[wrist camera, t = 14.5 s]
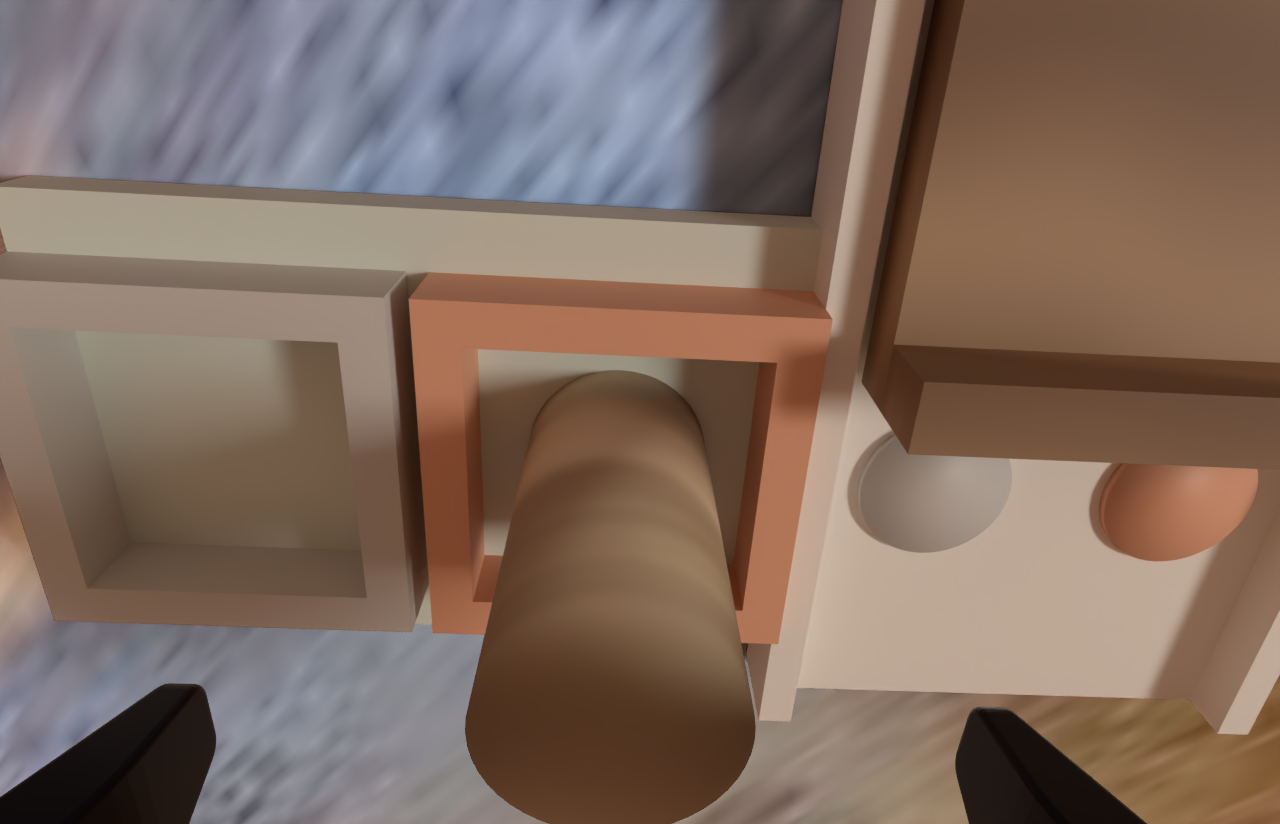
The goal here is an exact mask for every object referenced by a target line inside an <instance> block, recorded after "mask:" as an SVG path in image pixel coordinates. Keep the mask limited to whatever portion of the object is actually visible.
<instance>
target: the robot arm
mask: <svg viewBox="0 0 1280 824" xmlns="http://www.w3.org/2000/svg"><path fill="white" fill-rule="evenodd" d="M215 748H216V733H215V728H214V724H213V720H212V716H211V712H210V708H209V703H208V699H207V695H206V692H205V690H204V689H203V688H202V687H201V686H200V685H197V684H164V685H162V686H160V687H158V688H156V689H155V690H153V691H152V692H150V693H149V694H148V695H146V696H145V697H143V698H142V699H140V700H139V701H137V702H136V703H135V704H133V705H132V706H130V707H129V708H127V709H126V710H125V711H123V712H122V713H120V714H119V715H117V716H116V717H114V718H113V719H112V720H110V721H109V722H107V723H106V724H104V725H103V726H102V727H100V728H99V729H97V730H96V731H94V732H93V733H91V734H90V735H89V736H87V737H86V738H84V739H83V740H81V741H80V742H79V743H77V744H76V745H74V746H73V747H71V748H70V749H69V750H67V751H66V752H64V753H63V754H61V755H60V756H58V757H57V758H56V759H54V760H53V761H51V762H50V763H48V764H47V765H46V766H44V767H43V768H41V769H40V770H38V771H37V772H35V773H34V774H33V775H31V776H30V777H28V778H27V779H25V780H24V781H23V782H21V783H20V784H18V785H17V786H15V787H14V788H12V789H11V790H10V791H8V792H7V793H5V794H4V795H2V796H1V797H0V824H189V823H190V820H191V817H192V814H193V812H194V809H195V806H196V803H197V801H198V798H199V795H200V792H201V790H202V787H203V784H204V781H205V779H206V776H207V773H208V770H209V768H210V765H211V762H212V759H213V756H214V753H215ZM955 767H956V775H957V779H958V783H959V787H960V791H961V794H962V798H963V802H964V806H965V810H966V814H967V817H968V821H969V824H1147V823H1146V822H1145V821H1143V820H1142V819H1141V818H1140V817H1139V816H1137V815H1136V814H1135V813H1134V812H1133V811H1131V810H1130V809H1129V808H1128V807H1127V806H1125V805H1124V804H1123V803H1122V802H1121V801H1119V800H1118V799H1117V798H1116V797H1115V796H1113V795H1112V794H1111V793H1110V792H1109V791H1107V790H1106V789H1105V788H1104V787H1103V786H1101V785H1100V784H1099V783H1098V782H1097V781H1096V780H1094V779H1093V778H1092V777H1091V776H1090V775H1088V774H1087V773H1086V772H1085V771H1084V770H1082V769H1081V768H1080V767H1079V766H1078V765H1076V764H1075V763H1074V762H1073V761H1072V760H1070V759H1069V758H1068V757H1067V756H1066V755H1064V754H1063V753H1062V752H1061V751H1060V750H1058V749H1057V748H1056V747H1055V746H1054V745H1052V744H1051V743H1050V742H1049V741H1048V740H1046V739H1045V738H1044V737H1043V736H1042V735H1041V734H1039V733H1038V732H1037V731H1036V730H1035V729H1033V728H1032V727H1031V726H1030V725H1029V724H1027V723H1026V722H1025V721H1024V720H1023V719H1021V718H1020V717H1019V716H1018V715H1017V714H1015V713H1014V712H1013V711H1011V710H1009V709H1007V708H1000V707H976V708H974V709H973V710H972V711H971V712H970V714H969V716H968V719H967V722H966V725H965V728H964V731H963V734H962V737H961V741H960V744H959V747H958V750H957V754H956V760H955Z"/></svg>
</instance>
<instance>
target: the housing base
mask: <svg viewBox="0 0 1280 824" xmlns="http://www.w3.org/2000/svg"><path fill="white" fill-rule="evenodd" d="M933 6H934V0H843V4H842V11H841V18H840V24H839V31H838V38H837V45H836V51H835V58H834V65H833V72H832V79H831V85H830V92H829V99H828V106H827V112H826V119H825V126H824V133H823V140H822V146H821V153H820V160H819V167H818V174H817V180H816V187H815V194H814V201H813V207H812V214H811V217H812V219H813V220H814V221H815V222H816V223H817V224H818V225H819V226H820V227H821V228H822V229H823V233H822V240H821V246H820V252H819V259H818V265H817V272H816V278H815V285H814V293H815V294H816V296H817V297H818V299H819V300H820V301H821V303H822V304H823V306H824V307H825V309H826V310H827V312H828V313H829V315H830V316H831V318H832V319H833V321H832V327H831V333H830V339H829V345H828V351H827V357H826V363H825V369H824V375H823V381H822V386H821V392H820V398H819V404H818V410H817V416H816V422H815V428H814V434H813V440H812V446H811V452H810V458H809V464H808V470H807V476H806V482H805V487H804V493H803V499H802V505H801V511H800V517H799V523H798V529H797V535H796V541H795V547H794V553H793V559H792V565H791V571H790V577H789V583H788V588H787V594H786V600H785V606H784V612H783V618H782V624H781V630H780V636H779V642H778V644H758V643H748V648H747V655H746V656H747V661H748V666H749V672H750V677H751V682H752V687H753V693H754V698H755V703H756V709H757V714H758V719H759V720H763V721H791V716H792V711H793V706H794V700H795V695H796V689H797V688H823V689H856V690H889V691H922V692H955V693H988V694H1020V695H1053V696H1086V697H1119V698H1152V699H1185V700H1190V701H1191V702H1192V703H1193V705H1194V706H1195V707H1196V708H1197V710H1198V711H1199V712H1200V713H1201V714H1202V716H1203V717H1204V718H1205V719H1206V720H1207V722H1208V723H1209V724H1210V725H1211V726H1212V728H1213V729H1214V730H1215V731H1216V733H1217V734H1248V733H1249V731H1250V729H1251V727H1252V726H1253V724H1254V722H1255V720H1256V718H1257V716H1258V714H1259V712H1260V710H1261V709H1262V707H1263V705H1264V703H1265V701H1266V699H1267V697H1268V695H1269V693H1270V692H1271V690H1272V688H1273V686H1274V684H1275V682H1276V680H1277V678H1278V676H1279V675H1280V470H1270V469H1246V468H1222V467H1198V466H1174V465H1151V464H1127V463H1103V462H1079V461H1055V460H1031V459H1007V458H983V457H959V456H935V455H911V454H907V452H906V451H905V449H904V447H903V446H902V444H901V443H900V441H899V440H898V438H897V437H896V435H895V434H894V432H893V430H892V429H891V427H890V426H889V424H888V423H887V421H886V420H885V418H884V417H883V415H882V413H881V412H880V410H879V409H878V407H877V406H876V404H875V403H874V401H873V399H872V398H871V396H870V395H869V393H868V392H867V390H866V389H865V387H864V386H863V384H862V376H863V371H864V366H865V361H866V356H867V350H868V345H869V340H870V335H871V329H872V324H873V319H874V314H875V308H876V303H877V298H878V293H879V288H880V282H881V277H882V272H883V267H884V261H885V256H886V251H887V246H888V241H889V235H890V230H891V225H892V220H893V214H894V209H895V204H896V199H897V194H898V188H899V183H900V178H901V173H902V167H903V162H904V157H905V152H906V147H907V141H908V136H909V131H910V126H911V120H912V115H913V110H914V105H915V100H916V94H917V89H918V84H919V79H920V73H921V68H922V63H923V58H924V53H925V47H926V42H927V37H928V32H929V26H930V21H931V16H932V11H933Z"/></svg>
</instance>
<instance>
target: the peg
mask: <svg viewBox="0 0 1280 824" xmlns="http://www.w3.org/2000/svg"><path fill="white" fill-rule="evenodd" d="M755 727H756V726H755V717H754V710H753V704H752V699H751V694H750V688H749V683H748V677H747V672H746V666H745V661H744V656H743V650H742V645H741V639H740V634H739V628H738V623H737V617H736V612H735V607H734V601H733V596H732V590H731V585H730V579H729V574H728V568H727V563H726V558H725V552H724V547H723V541H722V536H721V530H720V525H719V520H718V514H717V509H716V503H715V498H714V492H713V487H712V481H711V476H710V471H709V465H708V460H707V454H706V449H705V443H704V438H703V433H702V429H701V426H700V423H699V421H698V418H697V416H696V414H695V412H694V411H693V409H692V408H691V406H690V405H689V404H688V402H687V401H686V400H685V399H684V398H683V397H682V396H681V395H680V394H679V393H678V392H677V391H676V390H674V389H673V388H672V387H670V386H669V385H667V384H666V383H664V382H662V381H660V380H658V379H656V378H654V377H651V376H648V375H645V374H642V373H637V372H633V371H624V370H608V371H601V372H595V373H592V374H588V375H585V376H582V377H580V378H577V379H575V380H573V381H571V382H569V383H568V384H566V385H564V386H563V387H562V388H560V389H559V390H558V391H556V392H555V393H554V394H553V395H552V396H551V397H550V398H549V399H548V400H547V401H546V403H545V404H544V405H543V407H542V408H541V410H540V411H539V413H538V415H537V417H536V419H535V422H534V424H533V427H532V431H531V436H530V440H529V444H528V449H527V453H526V458H525V462H524V466H523V471H522V475H521V479H520V484H519V488H518V492H517V497H516V501H515V505H514V510H513V514H512V519H511V523H510V527H509V532H508V536H507V540H506V545H505V549H504V553H503V558H502V562H501V566H500V571H499V575H498V579H497V584H496V588H495V593H494V597H493V601H492V606H491V610H490V614H489V619H488V623H487V627H486V632H485V636H484V640H483V645H482V649H481V653H480V658H479V662H478V667H477V671H476V675H475V680H474V684H473V688H472V693H471V697H470V701H469V706H468V710H467V715H466V724H465V734H466V741H467V747H468V750H469V753H470V756H471V759H472V761H473V763H474V765H475V767H476V769H477V771H478V772H479V774H480V775H481V776H482V778H483V779H484V780H485V782H486V783H487V784H488V785H489V786H490V787H491V788H492V789H493V790H494V791H495V792H496V793H497V794H498V795H499V796H500V797H501V798H503V799H504V800H505V801H506V802H508V803H509V804H510V805H512V806H514V807H515V808H517V809H518V810H520V811H522V812H523V813H525V814H528V815H530V816H532V817H534V818H536V819H538V820H541V821H544V822H546V823H549V824H672V823H675V822H677V821H679V820H682V819H684V818H687V817H689V816H691V815H693V814H695V813H697V812H699V811H700V810H702V809H704V808H705V807H707V806H708V805H710V804H711V803H713V802H714V801H716V800H717V799H718V798H719V797H720V796H721V795H723V794H724V793H725V792H726V791H727V790H728V789H729V788H730V787H731V786H732V785H733V783H734V782H735V781H736V780H737V779H738V777H739V776H740V774H741V773H742V771H743V770H744V768H745V766H746V764H747V762H748V760H749V757H750V755H751V752H752V748H753V744H754V740H755Z"/></svg>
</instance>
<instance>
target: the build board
mask: <svg viewBox="0 0 1280 824" xmlns="http://www.w3.org/2000/svg"><path fill="white" fill-rule="evenodd" d="M0 229H1V233H2V236H3V240H4V243H5V247H6V250H7V251H6V252H4V253H1V254H0V458H1V461H2V464H3V467H4V470H5V473H6V476H7V479H8V482H9V485H10V488H11V491H12V494H13V497H14V500H15V503H16V506H17V509H18V512H19V515H20V518H21V521H22V524H23V527H24V531H25V534H26V537H27V540H28V543H29V546H30V549H31V552H32V555H33V558H34V561H35V564H36V567H37V570H38V573H39V576H40V579H41V582H42V585H43V588H44V591H45V594H46V597H47V600H48V603H49V606H50V609H51V612H52V615H53V618H54V621H80V622H111V623H142V624H173V625H203V626H234V627H265V628H296V629H327V630H357V631H388V632H412V631H413V628H414V625H415V624H427V625H432V630H433V633H450V634H481V635H485V632H486V627H487V623H488V619H489V614H490V610H491V606H492V601H493V597H494V593H495V588H496V584H497V579H498V575H499V571H500V566H501V562H502V558H503V553H504V549H505V545H506V540H507V536H508V532H509V527H510V523H511V519H512V514H513V510H514V505H515V501H516V497H517V492H518V488H519V484H520V479H521V475H522V471H523V466H524V462H525V458H526V453H527V449H528V444H529V440H530V436H531V431H532V427H533V424H534V422H535V419H536V417H537V415H538V413H539V411H540V410H541V408H542V407H543V405H544V404H545V403H546V401H547V400H548V399H549V398H550V397H551V396H552V395H553V394H554V393H555V392H556V391H558V390H559V389H560V388H562V387H563V386H564V385H566V384H568V383H569V382H571V381H573V380H575V379H577V378H580V377H582V376H585V375H588V374H592V373H595V372H601V371H608V370H624V371H633V372H637V373H642V374H645V375H648V376H651V377H654V378H656V379H658V380H660V381H662V382H664V383H666V384H667V385H669V386H670V387H672V388H673V389H674V390H676V391H677V392H678V393H679V394H680V395H681V396H682V397H683V398H684V399H685V400H686V401H687V402H688V404H689V405H690V406H691V408H692V409H693V411H694V412H695V414H696V416H697V418H698V421H699V423H700V426H701V429H702V433H703V438H704V443H705V449H706V454H707V460H708V465H709V471H710V476H711V481H712V487H713V492H714V498H715V503H716V509H717V514H718V520H719V525H720V530H721V536H722V541H723V547H724V552H725V558H726V563H727V568H728V574H729V579H730V585H731V590H732V596H733V601H734V607H735V612H736V617H737V623H738V628H739V634H740V639H741V643H758V644H778V642H779V636H780V630H781V624H782V618H783V612H784V606H785V600H786V594H787V588H788V583H789V577H790V571H791V565H792V559H793V553H794V547H795V541H796V535H797V529H798V523H799V517H800V511H801V505H802V499H803V493H804V487H805V482H806V476H807V470H808V464H809V458H810V452H811V446H812V440H813V434H814V428H815V422H816V416H817V410H818V404H819V398H820V392H821V386H822V381H823V375H824V369H825V363H826V357H827V351H828V345H829V339H830V333H831V327H832V321H833V319H832V318H831V316H830V315H829V313H828V312H827V310H826V309H825V307H824V306H823V304H822V303H821V301H820V300H819V299H818V297H817V296H816V294H815V293H814V285H815V278H816V272H817V265H818V259H819V252H820V246H821V240H822V233H823V229H822V228H821V227H820V226H819V225H818V224H817V223H816V222H815V221H814V220H813V219H812V217H801V216H782V215H763V214H745V213H726V212H707V211H688V210H669V209H650V208H631V207H613V206H594V205H575V204H556V203H537V202H518V201H499V200H481V199H462V198H443V197H424V196H405V195H386V194H367V193H349V192H330V191H311V190H292V189H273V188H254V187H235V186H216V185H198V184H179V183H160V182H141V181H122V180H103V179H84V178H66V177H47V176H24V177H20V178H17V179H13V180H9V181H5V182H1V183H0Z"/></svg>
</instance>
